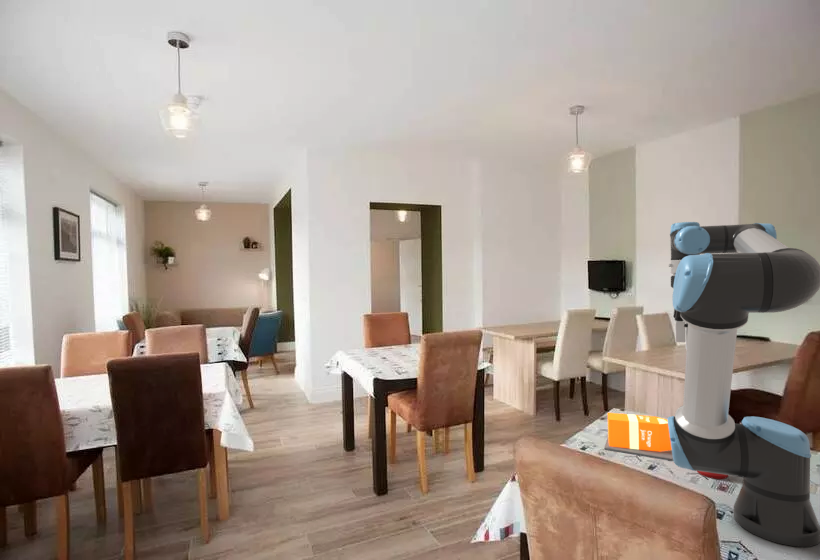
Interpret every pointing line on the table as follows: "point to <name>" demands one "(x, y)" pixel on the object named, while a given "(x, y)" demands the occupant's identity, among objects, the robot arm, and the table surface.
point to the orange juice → (638, 432)
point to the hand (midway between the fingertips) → (685, 345)
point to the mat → (642, 452)
